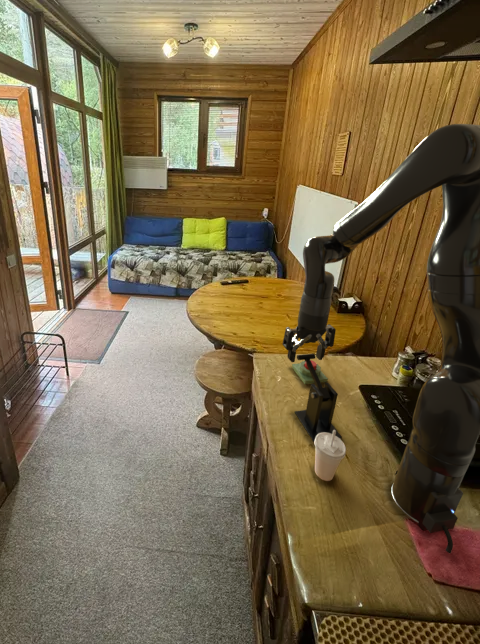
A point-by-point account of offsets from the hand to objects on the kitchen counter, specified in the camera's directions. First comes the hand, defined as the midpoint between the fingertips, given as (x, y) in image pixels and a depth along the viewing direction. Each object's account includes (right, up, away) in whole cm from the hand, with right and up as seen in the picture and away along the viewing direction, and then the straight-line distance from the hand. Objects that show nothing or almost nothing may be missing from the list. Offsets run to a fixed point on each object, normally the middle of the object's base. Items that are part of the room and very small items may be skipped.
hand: (305, 359), depth 88 cm
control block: (+7, -10, +16) cm, 20 cm away
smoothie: (-2, -22, -17) cm, 28 cm away
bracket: (+1, -17, -4) cm, 18 cm away
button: (+7, -7, +14) cm, 17 cm away
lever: (+1, -4, -4) cm, 6 cm away
